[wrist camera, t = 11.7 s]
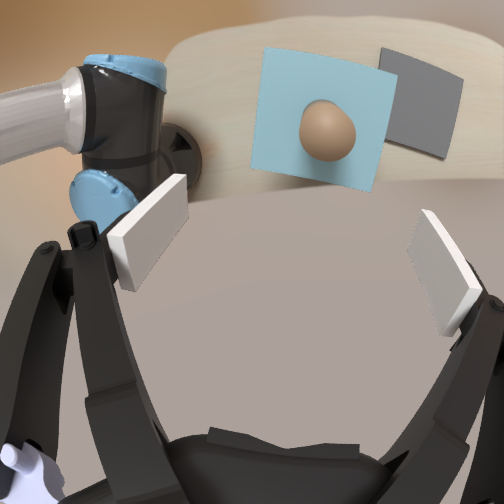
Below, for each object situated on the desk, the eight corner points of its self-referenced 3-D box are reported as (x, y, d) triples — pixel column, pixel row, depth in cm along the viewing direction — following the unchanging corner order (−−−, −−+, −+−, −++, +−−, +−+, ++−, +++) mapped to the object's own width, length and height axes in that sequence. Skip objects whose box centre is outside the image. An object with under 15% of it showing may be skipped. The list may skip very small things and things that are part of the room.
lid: (252, 164, 33) (229, 199, 25) (266, 48, 25) (246, 34, 17) (368, 188, 32) (386, 231, 23) (394, 75, 24) (429, 76, 15)
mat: (366, 132, 44) (367, 133, 43) (381, 47, 35) (382, 47, 34) (443, 157, 42) (445, 158, 42) (461, 79, 33) (463, 79, 32)
